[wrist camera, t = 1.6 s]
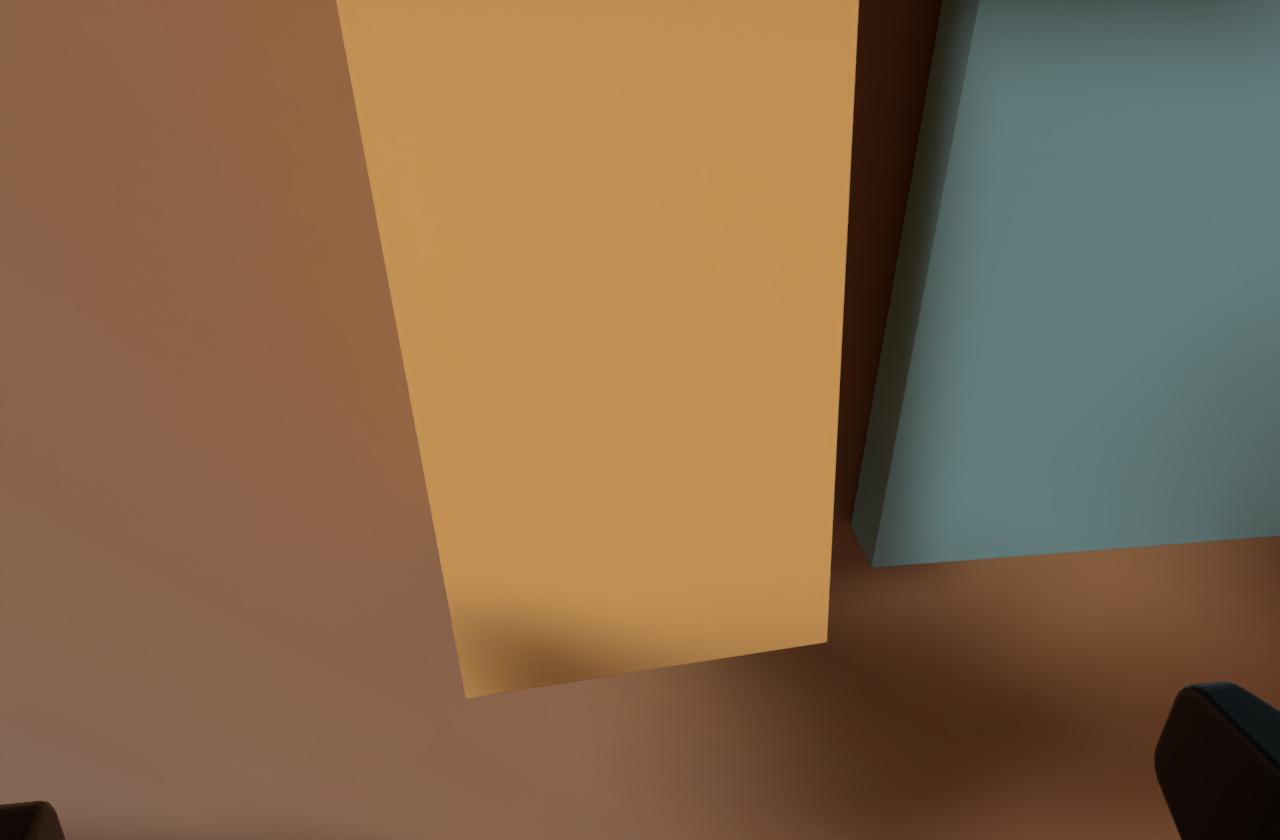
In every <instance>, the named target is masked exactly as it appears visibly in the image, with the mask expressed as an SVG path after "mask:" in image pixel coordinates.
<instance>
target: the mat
mask: <svg viewBox="0 0 1280 840" xmlns="http://www.w3.org/2000/svg"><path fill="white" fill-rule="evenodd" d="M851 527H852V529H853V531H854V533H855V535H856V537H857V539H858V541H859V543H860V545H861V547H862V549H863V551H864V554H865V556H866V558H867V560H868V562H869V564H870V566H871V568H874V567H887V566H900V565H913V564H925V563H938V562H951V561H964V560H977V559H990V558H1002V557H1015V556H1028V555H1041V554H1054V553H1066V552H1079V551H1092V550H1105V549H1118V548H1131V547H1143V546H1156V545H1169V544H1182V543H1195V542H1207V541H1220V540H1233V539H1246V538H1259V537H1272V536H1280V0H942V4H941V10H940V16H939V22H938V27H937V33H936V39H935V45H934V50H933V56H932V62H931V68H930V73H929V79H928V85H927V91H926V96H925V102H924V108H923V114H922V119H921V125H920V131H919V137H918V142H917V148H916V154H915V160H914V165H913V171H912V177H911V183H910V188H909V194H908V200H907V206H906V211H905V217H904V223H903V229H902V234H901V240H900V246H899V252H898V257H897V263H896V269H895V275H894V280H893V286H892V292H891V298H890V303H889V309H888V315H887V321H886V326H885V332H884V338H883V344H882V349H881V355H880V361H879V367H878V372H877V378H876V384H875V390H874V395H873V401H872V407H871V413H870V418H869V424H868V430H867V436H866V441H865V447H864V453H863V459H862V464H861V470H860V476H859V482H858V487H857V493H856V499H855V505H854V510H853V516H852V522H851Z"/></svg>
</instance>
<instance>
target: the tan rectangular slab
mask: <svg viewBox="0 0 1280 840" xmlns="http://www.w3.org/2000/svg"><path fill="white" fill-rule="evenodd" d="M336 2H337V8H338V13H339V19H340V24H341V29H342V35H343V40H344V45H345V51H346V56H347V62H348V67H349V72H350V78H351V83H352V88H353V94H354V99H355V105H356V110H357V115H358V121H359V126H360V131H361V137H362V142H363V148H364V153H365V158H366V164H367V169H368V174H369V180H370V185H371V191H372V196H373V201H374V207H375V212H376V217H377V223H378V228H379V234H380V239H381V244H382V250H383V255H384V260H385V266H386V271H387V277H388V282H389V287H390V293H391V298H392V303H393V309H394V314H395V320H396V325H397V330H398V336H399V341H400V346H401V352H402V357H403V363H404V368H405V373H406V379H407V384H408V389H409V395H410V400H411V406H412V411H413V416H414V422H415V427H416V432H417V438H418V443H419V449H420V454H421V459H422V465H423V470H424V475H425V481H426V486H427V492H428V497H429V502H430V508H431V513H432V519H433V524H434V529H435V535H436V540H437V545H438V551H439V556H440V562H441V567H442V572H443V578H444V583H445V588H446V594H447V599H448V605H449V610H450V615H451V621H452V626H453V631H454V637H455V642H456V648H457V653H458V658H459V664H460V669H461V674H462V680H463V685H464V691H465V696H466V698H472V697H478V696H484V695H491V694H497V693H504V692H510V691H516V690H523V689H529V688H536V687H542V686H549V685H555V684H561V683H568V682H574V681H581V680H587V679H593V678H600V677H606V676H613V675H619V674H626V673H632V672H638V671H645V670H651V669H658V668H664V667H671V666H677V665H683V664H690V663H696V662H703V661H709V660H715V659H722V658H728V657H735V656H741V655H748V654H754V653H760V652H767V651H773V650H780V649H786V648H792V647H799V646H805V645H812V644H818V643H825V642H827V630H828V610H829V590H830V570H831V550H832V530H833V510H834V490H835V470H836V450H837V430H838V410H839V390H840V370H841V350H842V330H843V310H844V290H845V270H846V250H847V230H848V210H849V190H850V170H851V150H852V130H853V110H854V90H855V70H856V50H857V30H858V10H859V0H336Z"/></svg>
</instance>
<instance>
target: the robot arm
mask: <svg viewBox="0 0 1280 840" xmlns="http://www.w3.org/2000/svg"><path fill="white" fill-rule="evenodd" d="M1154 764H1155V771H1156V776H1157V779H1158V782H1159V785H1160V787H1161V790H1162V792H1163V795H1164V797H1165V800H1166V802H1167V805H1168V807H1169V810H1170V812H1171V815H1172V817H1173V820H1174V822H1175V825H1176V827H1177V830H1178V832H1179V835H1180V837H1181V840H1280V711H1278V710H1277V709H1275V708H1274V707H1272V706H1271V705H1269V704H1267V703H1266V702H1264V701H1263V700H1261V699H1259V698H1258V697H1256V696H1255V695H1253V694H1252V693H1250V692H1248V691H1247V690H1245V689H1244V688H1242V687H1240V686H1238V685H1236V684H1233V683H1230V682H1213V683H1203V684H1193V685H1188V686H1185V687H1184V688H1183V689H1182V690H1180V692H1179V693H1178V694H1177V696H1176V698H1175V700H1174V703H1173V706H1172V708H1171V711H1170V713H1169V716H1168V718H1167V721H1166V723H1165V726H1164V728H1163V731H1162V733H1161V736H1160V738H1159V741H1158V743H1157V746H1156V749H1155V757H1154ZM0 840H65V837H64V834H63V831H62V828H61V825H60V822H59V819H58V816H57V813H56V811H55V809H54V808H53V806H52V805H51V804H50V803H48V802H45V801H33V802H24V803H14V804H4V805H0Z"/></svg>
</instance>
